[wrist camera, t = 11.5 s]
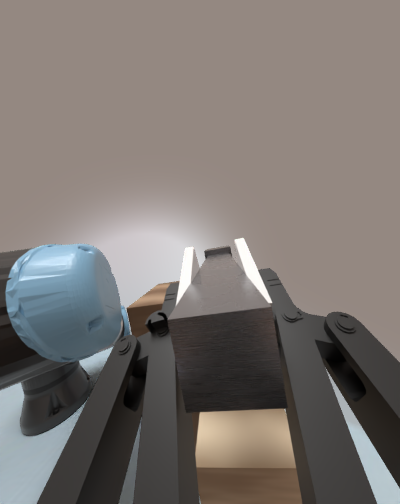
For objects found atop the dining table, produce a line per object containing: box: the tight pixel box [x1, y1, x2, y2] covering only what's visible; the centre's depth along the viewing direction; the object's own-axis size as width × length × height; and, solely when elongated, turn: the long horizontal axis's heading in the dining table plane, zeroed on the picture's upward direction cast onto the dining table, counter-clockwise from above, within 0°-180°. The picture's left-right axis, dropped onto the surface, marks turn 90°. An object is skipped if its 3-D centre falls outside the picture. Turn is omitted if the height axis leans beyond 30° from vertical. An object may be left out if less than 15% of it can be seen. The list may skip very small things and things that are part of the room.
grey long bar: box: [167, 246, 288, 413], centre depth 18 cm, size 26×4×4 cm, turn 174°
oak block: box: [195, 409, 302, 504], centre depth 19 cm, size 12×9×20 cm
